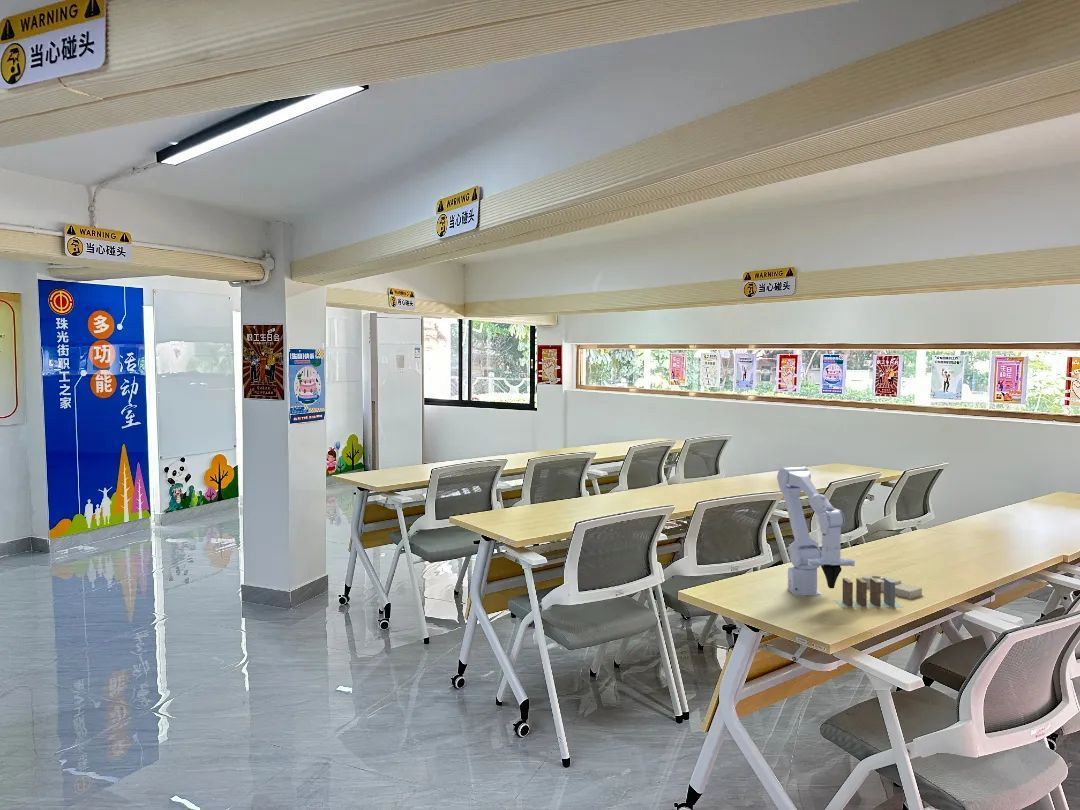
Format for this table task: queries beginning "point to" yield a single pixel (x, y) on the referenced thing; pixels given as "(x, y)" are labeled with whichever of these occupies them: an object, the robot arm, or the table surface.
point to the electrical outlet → (896, 586)
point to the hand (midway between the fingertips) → (830, 587)
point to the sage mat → (869, 604)
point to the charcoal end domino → (889, 592)
